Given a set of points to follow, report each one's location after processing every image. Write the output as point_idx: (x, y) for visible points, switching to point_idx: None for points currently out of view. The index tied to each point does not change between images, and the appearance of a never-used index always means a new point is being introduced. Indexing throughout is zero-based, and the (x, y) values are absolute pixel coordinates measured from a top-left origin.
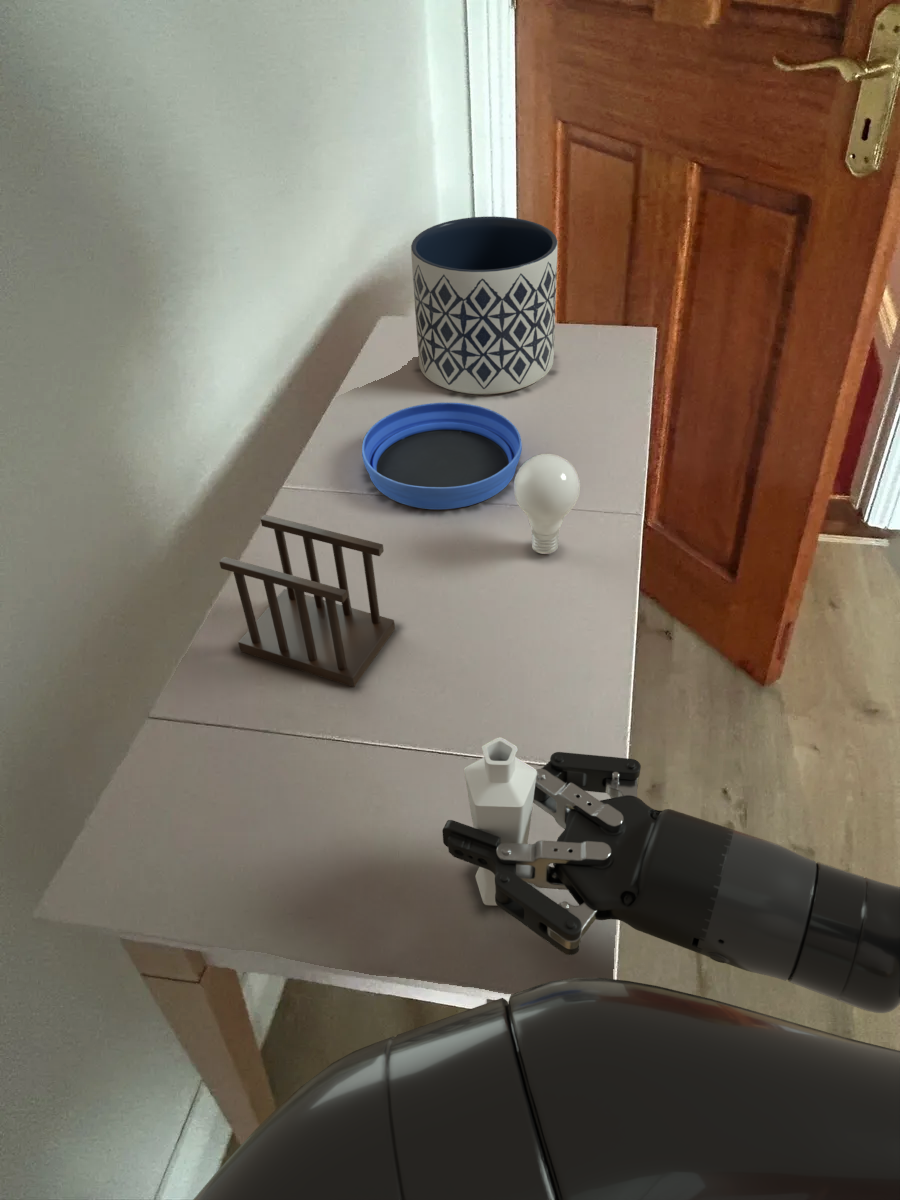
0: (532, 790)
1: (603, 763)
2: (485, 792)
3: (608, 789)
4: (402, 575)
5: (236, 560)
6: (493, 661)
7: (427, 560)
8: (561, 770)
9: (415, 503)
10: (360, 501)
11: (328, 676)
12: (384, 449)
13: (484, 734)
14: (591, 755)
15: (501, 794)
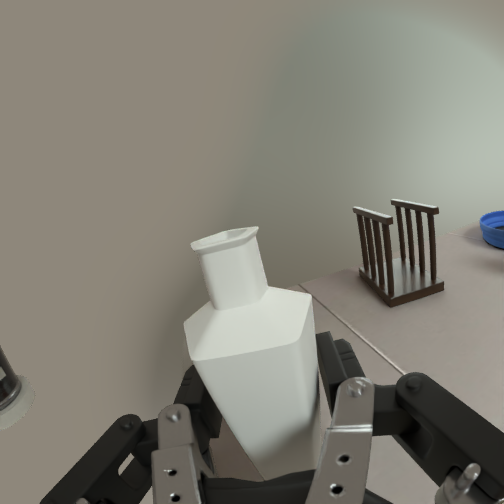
0: (271, 374)
1: (474, 434)
2: (198, 310)
3: (440, 490)
4: (470, 269)
5: (359, 207)
6: (489, 327)
7: (488, 267)
8: (402, 406)
9: (497, 243)
10: (472, 241)
11: (382, 296)
12: (495, 226)
13: (439, 373)
14: (469, 409)
15: (200, 324)
